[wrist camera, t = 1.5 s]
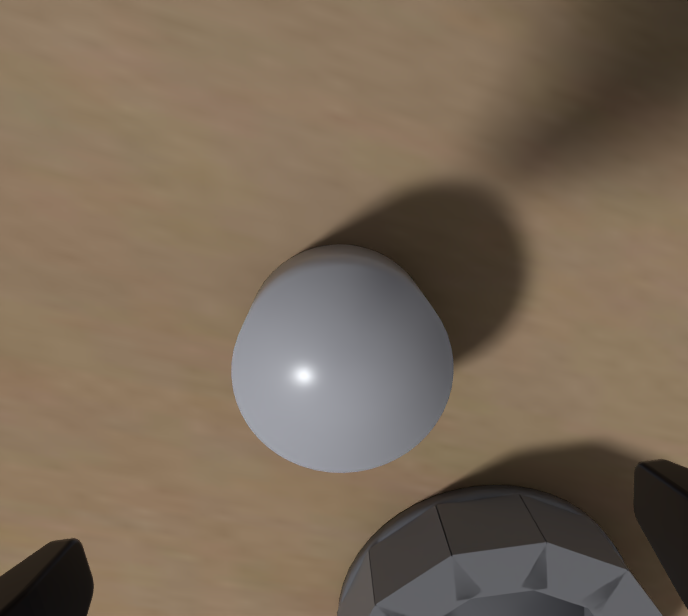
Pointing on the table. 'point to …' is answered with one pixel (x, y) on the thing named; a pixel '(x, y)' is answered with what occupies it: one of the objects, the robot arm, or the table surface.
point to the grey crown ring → (492, 561)
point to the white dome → (341, 361)
